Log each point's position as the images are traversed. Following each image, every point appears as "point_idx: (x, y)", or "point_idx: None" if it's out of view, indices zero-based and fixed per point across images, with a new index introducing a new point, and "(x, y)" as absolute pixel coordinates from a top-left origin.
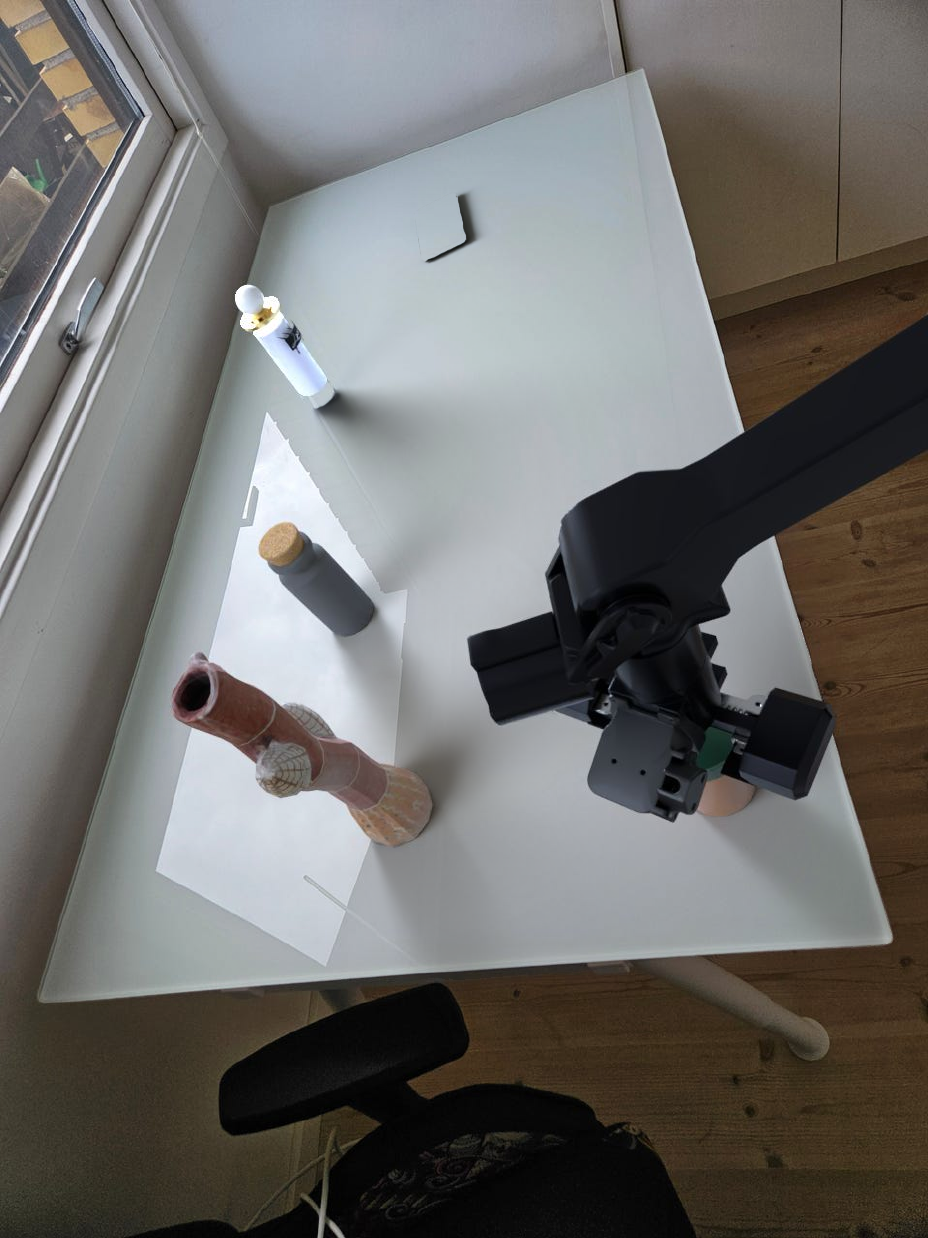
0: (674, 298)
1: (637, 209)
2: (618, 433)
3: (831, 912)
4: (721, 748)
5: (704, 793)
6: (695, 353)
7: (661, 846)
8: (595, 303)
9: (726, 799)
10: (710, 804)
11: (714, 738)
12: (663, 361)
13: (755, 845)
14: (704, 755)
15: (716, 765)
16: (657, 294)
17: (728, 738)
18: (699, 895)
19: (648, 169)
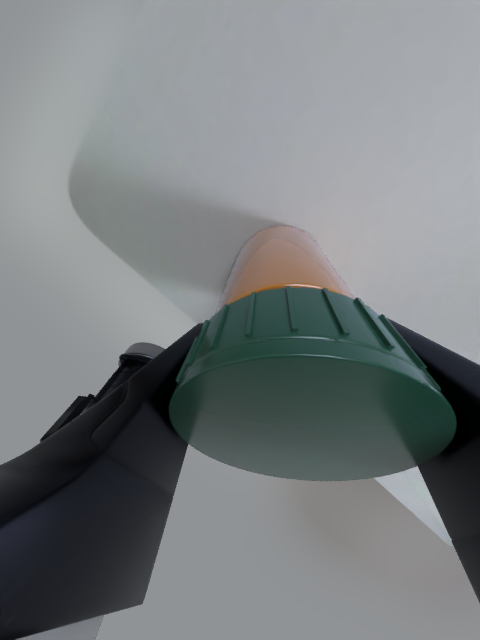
0: (413, 502)
1: (443, 523)
2: None
3: (95, 193)
4: (196, 423)
5: (254, 262)
6: (393, 487)
7: (317, 133)
8: None
9: (236, 264)
10: (257, 245)
11: (228, 433)
12: (416, 487)
13: (203, 222)
14: (222, 407)
15: (175, 391)
16: (425, 504)
17: (200, 436)
18: (223, 83)
19: (437, 529)
